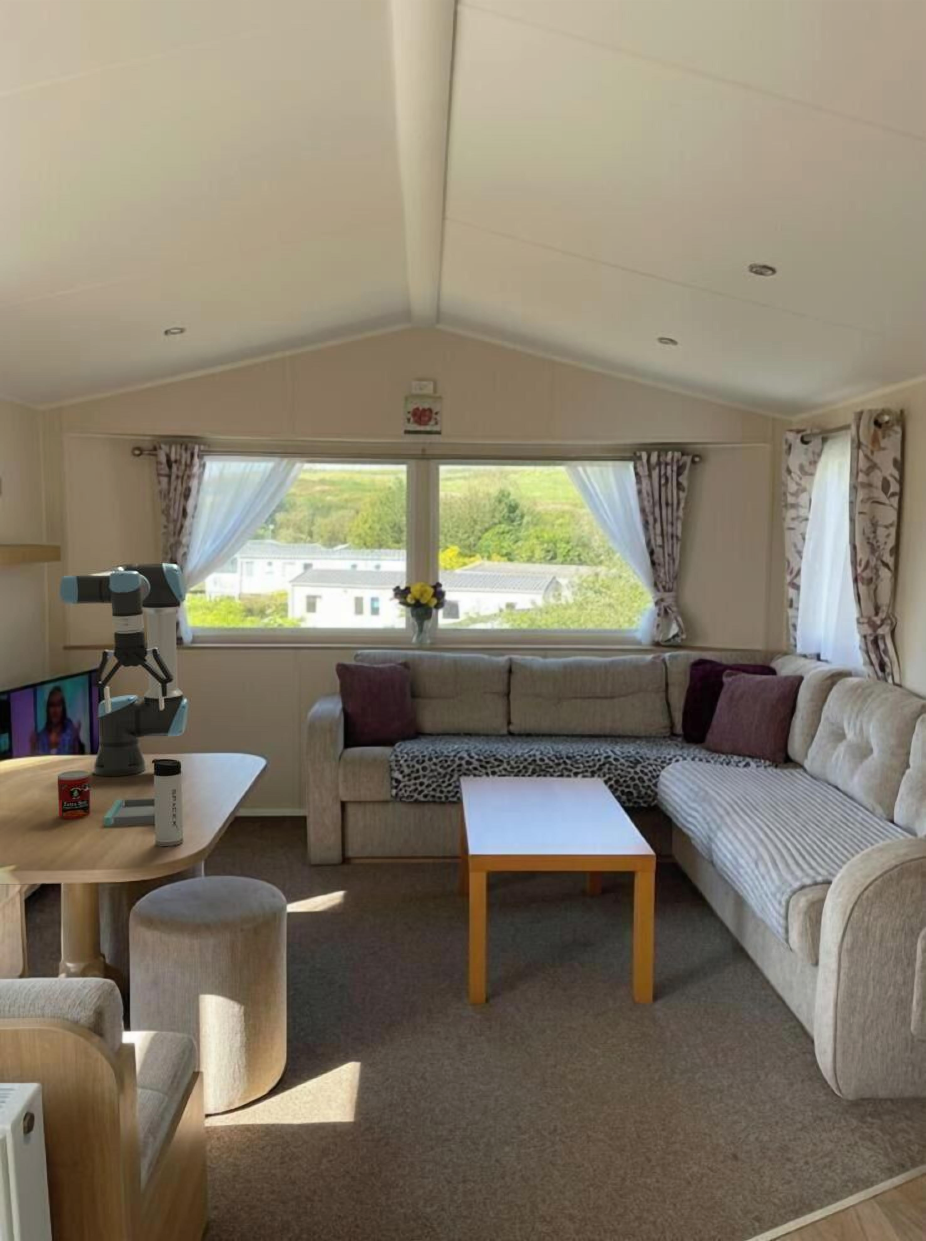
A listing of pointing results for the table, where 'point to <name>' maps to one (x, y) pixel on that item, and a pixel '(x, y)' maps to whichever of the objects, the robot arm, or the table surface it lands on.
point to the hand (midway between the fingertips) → (135, 710)
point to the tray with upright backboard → (131, 812)
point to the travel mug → (168, 802)
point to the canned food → (74, 794)
